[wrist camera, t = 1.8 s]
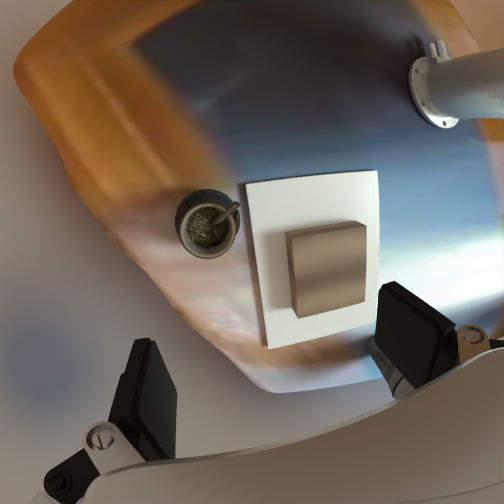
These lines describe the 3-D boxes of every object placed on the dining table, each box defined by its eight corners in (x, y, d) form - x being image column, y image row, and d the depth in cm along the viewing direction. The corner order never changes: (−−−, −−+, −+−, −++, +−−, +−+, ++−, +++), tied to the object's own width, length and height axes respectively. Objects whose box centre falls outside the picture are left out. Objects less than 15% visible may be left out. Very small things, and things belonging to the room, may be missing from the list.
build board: (245, 184, 33) (246, 184, 32) (374, 170, 34) (377, 170, 34) (267, 346, 41) (268, 349, 40) (372, 319, 42) (374, 321, 42)
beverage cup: (357, 362, 45) (411, 441, 26) (365, 330, 43) (431, 410, 24) (388, 354, 46) (446, 423, 27) (398, 322, 44) (466, 390, 25)
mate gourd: (167, 226, 33) (151, 250, 24) (199, 173, 32) (194, 175, 22) (216, 255, 35) (219, 288, 26) (249, 205, 34) (265, 219, 24)
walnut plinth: (284, 231, 35) (291, 238, 32) (355, 220, 35) (366, 225, 33) (291, 307, 38) (297, 318, 35) (355, 292, 39) (364, 301, 36)
